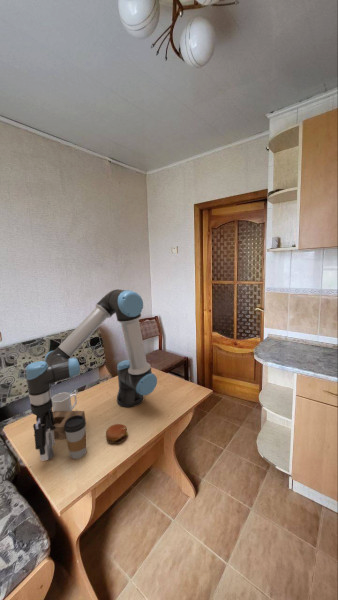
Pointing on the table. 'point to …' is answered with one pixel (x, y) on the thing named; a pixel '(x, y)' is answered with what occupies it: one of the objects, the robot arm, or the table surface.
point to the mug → (63, 402)
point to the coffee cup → (76, 436)
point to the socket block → (63, 422)
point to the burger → (116, 433)
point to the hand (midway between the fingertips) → (48, 451)
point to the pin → (49, 443)
